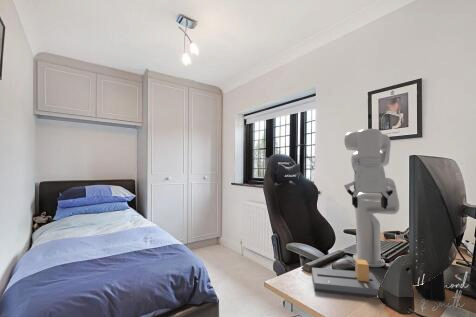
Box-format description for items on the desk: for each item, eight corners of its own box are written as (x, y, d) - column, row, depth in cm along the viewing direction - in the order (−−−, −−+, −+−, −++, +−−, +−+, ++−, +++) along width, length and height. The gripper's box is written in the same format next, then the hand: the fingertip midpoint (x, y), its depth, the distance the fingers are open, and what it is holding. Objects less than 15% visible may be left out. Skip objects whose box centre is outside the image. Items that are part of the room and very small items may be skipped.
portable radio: (449, 303, 75) (447, 225, 75) (427, 301, 76) (426, 224, 76) (433, 290, 83) (432, 219, 83) (414, 288, 84) (413, 218, 84)
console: (311, 274, 95) (311, 267, 95) (371, 280, 90) (371, 272, 90) (314, 291, 83) (314, 282, 83) (383, 298, 78) (383, 289, 78)
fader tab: (355, 280, 87) (355, 259, 87) (365, 281, 87) (365, 259, 87) (358, 286, 83) (358, 263, 83) (369, 287, 83) (368, 264, 83)
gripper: (346, 162, 86) (347, 209, 86) (399, 162, 82) (400, 210, 82) (342, 162, 94) (342, 205, 94) (390, 161, 90) (391, 206, 90)
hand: (369, 207), depth 88 cm, fingers open, 9 cm apart
